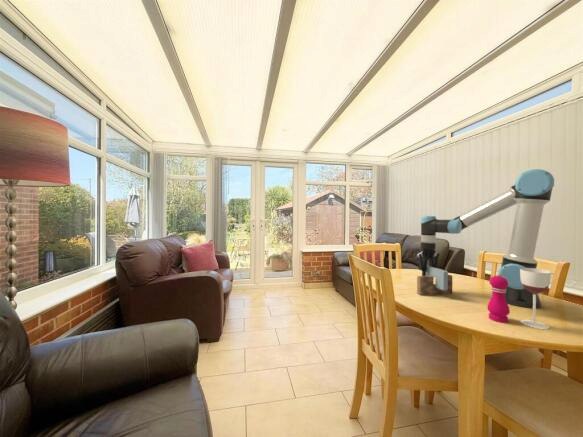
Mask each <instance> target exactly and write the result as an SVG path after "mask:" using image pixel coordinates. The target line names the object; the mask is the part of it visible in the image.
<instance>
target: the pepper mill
mask: <svg viewBox="0 0 583 437" xmlns="http://www.w3.org/2000/svg"><path fill="white" fill-rule="evenodd" d="M489 284H490V290H491V293H492V294H491V297H490V300H489V301H488V304H487V307H486V308H487V309H486V310H488V312H489V313H488V319H490V320H492V321H493V322H496V323H497V322H498V323H502V324H503V323H505V324H507V323H508V322H509V314H510V311H511V309H510V306H509V304H508V303H507V302H506V300H505V293H506V289H505V288H506V287H507V286H508V281H507V280H506V279H505V278H504V277H501V273H499V272H497V273H496V274H495V275H494V276H492V277H490V279H489Z"/></svg>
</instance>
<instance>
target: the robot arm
mask: <svg viewBox="0 0 583 437" xmlns="http://www.w3.org/2000/svg"><path fill="white" fill-rule="evenodd" d="M554 186H555V178H554V175H553V174H552V173H551V172H549V171H547V170H544V169H539V168H535V169H534V168H533V169H529V170H525V171H523V172H522V173H520V174H519V175H518V177H516V179H515V182H514V184H513V185H511V186H510V187H509V189H508V190H507V191H505V192H503V193H501V194H499V195H497V196H495V197H494V198H492V199H489V200H488V201H485V202H484V203H482V204H480V205H477V206H475V207H473V208H471V209H470V210H468V211H466V212H464V213H462V214H460V215H459V216H456V217H455V218H452V219H437V217H436V215H423V216H421V222H420V241H421V242H420V249H421V250H420V252H419V253H416V257H417V262H418V263H417V264H418V270H419V271H421V276H427V272H426V269H427V265H428V266H432V267H435V268H438V264H439V262H438V261H439V256H440V253H438V252H436V246H437V245H436V244H437V243H436V240H437V239H436V236H437V235H436V234H437V233H438V234H439V233H441V234H451V235H453V234H454V235H455V234H456V235H457V234H460V233H461V232H462V231H464V229H466V228H469V227H471V226H473V225H475V224H476V223H479V222H481V221H483V220H485V219H488V218H489V217H491V216H493V215H496V214H497V213H500V212H502V211H504V210H506V209H509V208H510V207H513V206H515V205H516V210H515V215H514V220H513V225H512V229H511V230H512V231H511V235H510V241H509V247H508V252H507V253H506V254H504V255H503V256H502V261H501V267H500V268H499V270H498V273H501V277H504V278H505V279H506V280H507V281H508V286H507V287H506V288H505V289H506V293H505V300H506V302H507V304H508V305H509V304H510V305H512V306H517V307H521V308H528V309H533V293H531V292H530V291H528V290H526V289H525V288H524V287H523V285H522V283H521V278H520V268H535V269H537V267H538V261H537V260H536V259H535V252H536V247H537V242H538V236H539V232H540V228H541V222H542V216H543V213H544V207H545V205H546V204H549V203H550V201H551V197H552V193H553V188H554ZM541 307H542V300H541V299H540V296H539V294H536V309H538V308H541Z"/></svg>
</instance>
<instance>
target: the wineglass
mask: <svg viewBox="0 0 583 437" xmlns="http://www.w3.org/2000/svg"><path fill="white" fill-rule="evenodd" d="M520 278H521V283H522V285H523V287H524V288H525V289H526V290H528V291H530V292H531V293H533V308H532V319H531V320H530V319H521V320H519V322H520V323H521V324H523V325H525V326H527V327H530V328H535V329H541V330H549V329H550V326H549V325H546V324H544V323H543V322H539V321H536V320H537V314H536V313H537V308H536V294H538V295H539V294H541V293H546V291H547V290H548V289H549V287H550V284H551V278H552V272H551V271H550V270H547V269H541V268H536V269H535V268H520Z"/></svg>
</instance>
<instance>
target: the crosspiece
mask: <svg viewBox="0 0 583 437" xmlns="http://www.w3.org/2000/svg"><path fill="white" fill-rule="evenodd" d="M426 272H427V276H432V277H433V284H435V287H436V288H439V289H441V290H448V275H449V271H448V270H444V269H441V268H438V267H437V268H435V267H432V266H429V264H427V269H426ZM434 278H435V283H434Z"/></svg>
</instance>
